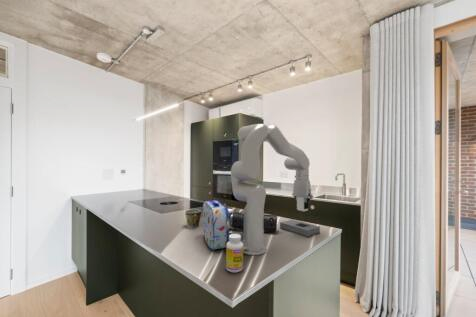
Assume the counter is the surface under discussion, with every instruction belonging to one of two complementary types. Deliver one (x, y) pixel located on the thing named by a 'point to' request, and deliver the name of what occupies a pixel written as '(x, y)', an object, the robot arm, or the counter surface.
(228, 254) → the supplement bottle
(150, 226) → the counter surface
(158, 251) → the counter surface
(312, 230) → the outlet box
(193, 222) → the olive green tapered container
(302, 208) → the charger
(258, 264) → the counter surface
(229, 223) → the spread jar
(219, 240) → the lunch box
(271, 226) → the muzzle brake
